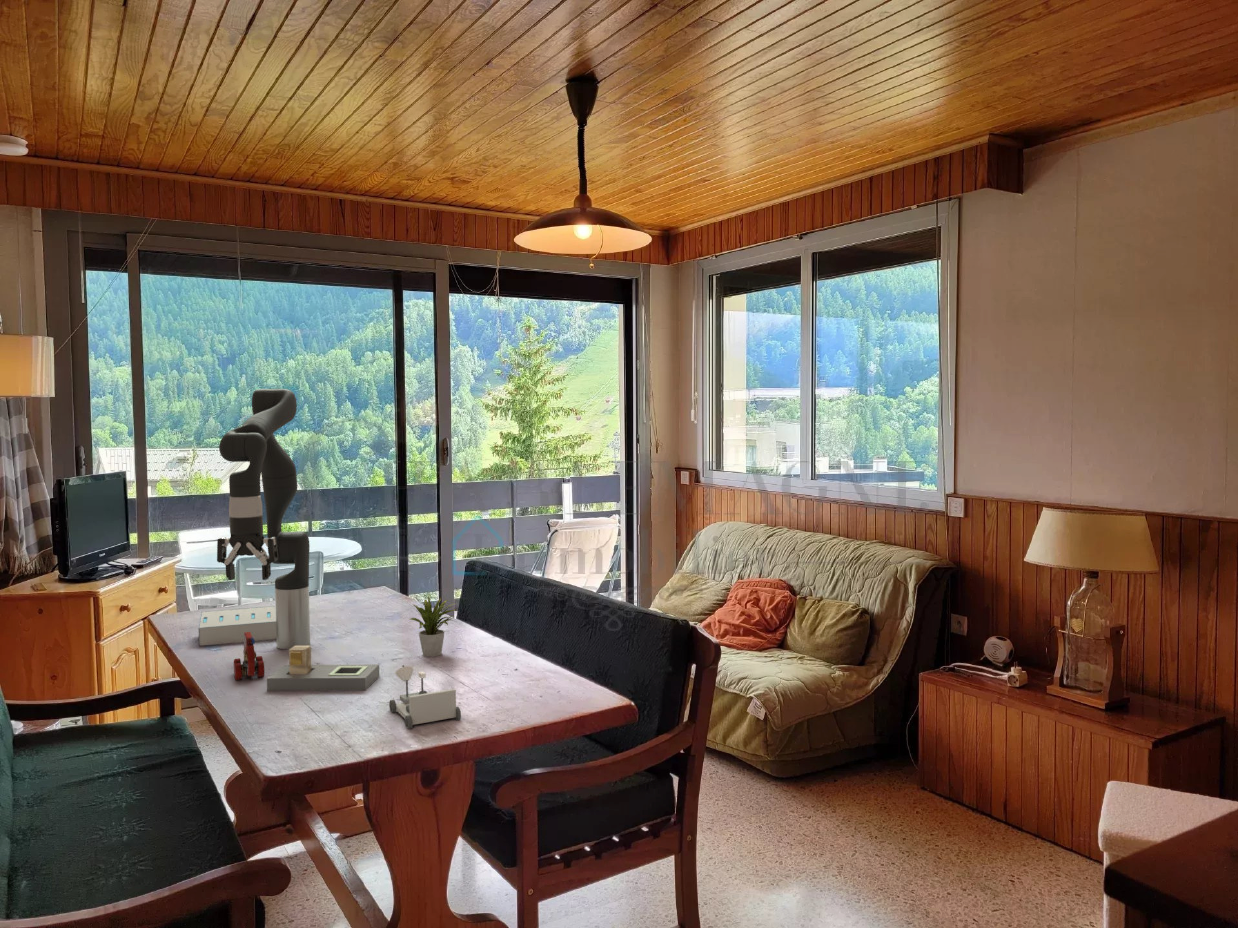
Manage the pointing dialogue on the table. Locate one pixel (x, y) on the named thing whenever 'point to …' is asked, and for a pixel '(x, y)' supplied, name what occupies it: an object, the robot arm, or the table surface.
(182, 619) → the table surface
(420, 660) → the table surface
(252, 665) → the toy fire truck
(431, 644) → the house plant
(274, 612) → the warehouse
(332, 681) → the panel
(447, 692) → the toy car
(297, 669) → the plug
